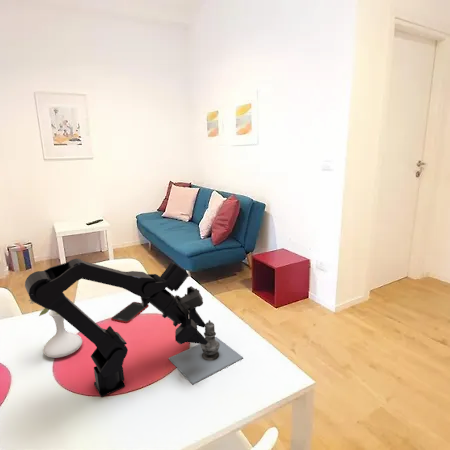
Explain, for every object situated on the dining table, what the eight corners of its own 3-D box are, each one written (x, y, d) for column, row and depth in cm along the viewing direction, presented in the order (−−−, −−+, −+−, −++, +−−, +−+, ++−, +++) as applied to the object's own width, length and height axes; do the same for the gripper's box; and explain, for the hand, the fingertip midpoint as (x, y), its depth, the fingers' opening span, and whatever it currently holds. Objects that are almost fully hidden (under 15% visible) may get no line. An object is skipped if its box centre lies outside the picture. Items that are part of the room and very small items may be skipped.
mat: (192, 384, 90) (192, 383, 90) (168, 359, 100) (168, 358, 100) (243, 358, 100) (243, 357, 100) (216, 337, 111) (216, 336, 111)
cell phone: (149, 306, 134) (149, 304, 134) (127, 324, 121) (127, 322, 121) (133, 303, 137) (133, 301, 137) (110, 321, 123) (109, 318, 123)
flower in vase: (68, 336, 113) (58, 268, 107) (90, 346, 108) (81, 274, 102) (31, 357, 103) (17, 282, 96) (52, 369, 97) (39, 291, 91)
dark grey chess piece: (217, 362, 98) (216, 326, 95) (198, 360, 99) (197, 324, 96) (222, 350, 103) (221, 316, 101) (204, 348, 105) (202, 314, 102)
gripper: (186, 298, 86) (228, 333, 90) (185, 271, 104) (220, 301, 108) (157, 327, 87) (200, 360, 90) (161, 296, 105) (197, 325, 108)
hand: (205, 334), depth 99 cm, fingers open, 9 cm apart
